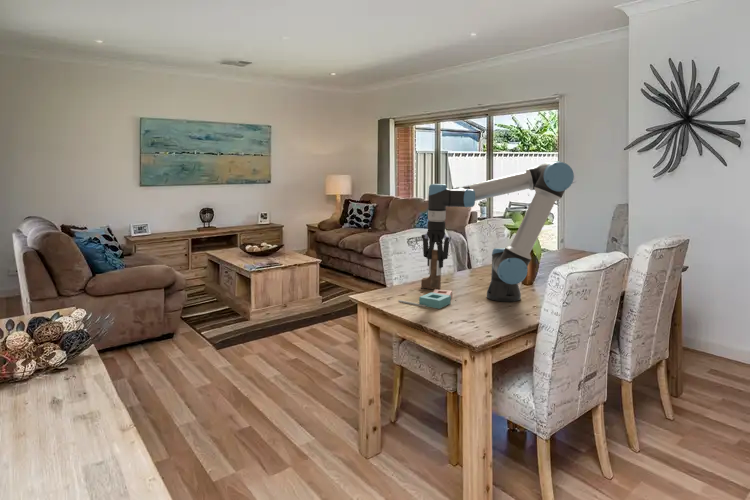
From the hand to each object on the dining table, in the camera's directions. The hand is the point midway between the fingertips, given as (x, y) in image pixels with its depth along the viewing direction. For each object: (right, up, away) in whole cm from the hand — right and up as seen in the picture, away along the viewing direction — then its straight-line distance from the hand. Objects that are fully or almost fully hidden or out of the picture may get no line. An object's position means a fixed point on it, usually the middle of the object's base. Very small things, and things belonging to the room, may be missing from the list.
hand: (434, 274), depth 214 cm
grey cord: (-10, -13, +2) cm, 17 cm away
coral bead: (+5, -12, +11) cm, 17 cm away
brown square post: (0, -5, +1) cm, 5 cm away
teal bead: (0, -13, +2) cm, 13 cm away
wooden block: (+2, -9, +31) cm, 32 cm away
